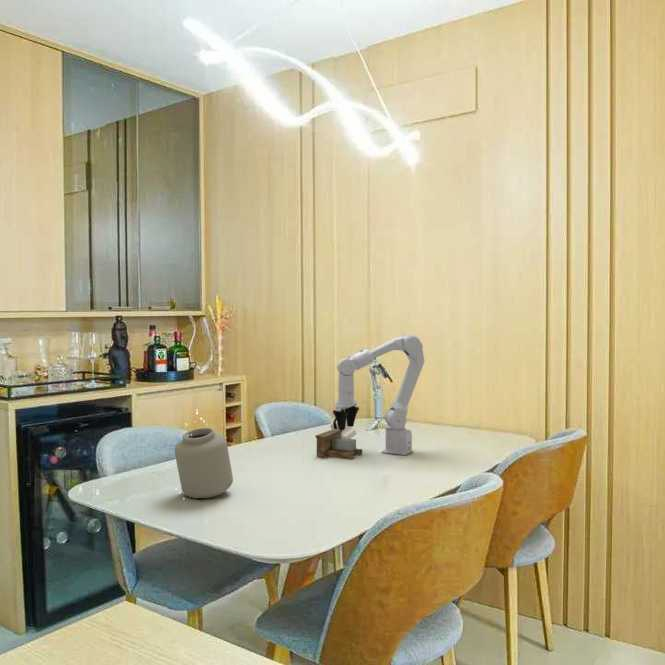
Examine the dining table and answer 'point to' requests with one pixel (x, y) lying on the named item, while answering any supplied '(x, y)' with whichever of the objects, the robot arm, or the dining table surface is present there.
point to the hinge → (345, 433)
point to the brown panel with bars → (326, 445)
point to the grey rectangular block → (344, 445)
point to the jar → (203, 463)
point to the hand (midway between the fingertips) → (346, 428)
